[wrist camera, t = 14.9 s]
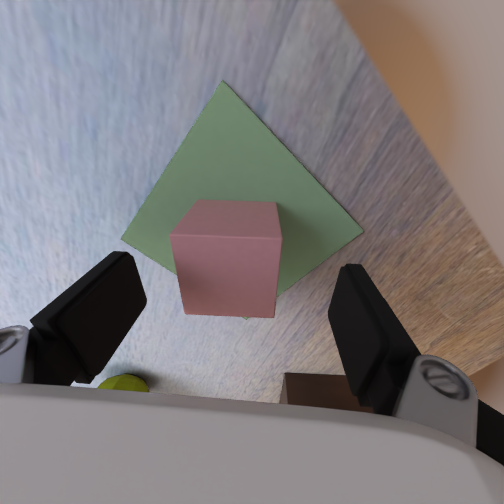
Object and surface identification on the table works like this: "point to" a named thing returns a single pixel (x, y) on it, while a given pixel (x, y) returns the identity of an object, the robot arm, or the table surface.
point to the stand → (320, 392)
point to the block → (228, 258)
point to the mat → (242, 189)
